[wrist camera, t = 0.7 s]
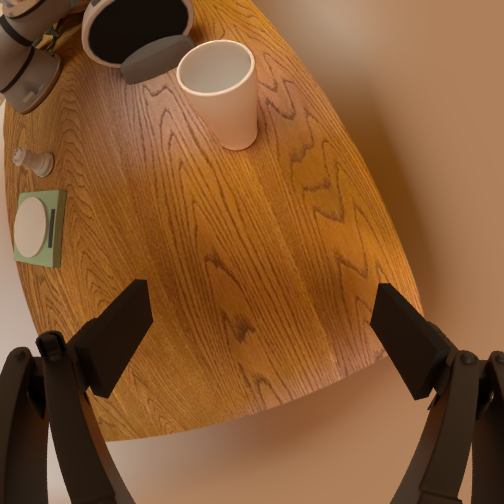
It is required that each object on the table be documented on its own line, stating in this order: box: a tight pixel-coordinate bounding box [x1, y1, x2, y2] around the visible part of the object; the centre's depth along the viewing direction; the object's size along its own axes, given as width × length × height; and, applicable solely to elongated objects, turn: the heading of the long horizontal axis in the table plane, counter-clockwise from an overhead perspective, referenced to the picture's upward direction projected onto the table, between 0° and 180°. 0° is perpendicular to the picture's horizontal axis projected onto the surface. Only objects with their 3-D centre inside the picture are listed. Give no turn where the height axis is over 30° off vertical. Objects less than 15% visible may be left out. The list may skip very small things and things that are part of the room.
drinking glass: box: [176, 40, 258, 151], centre depth 26 cm, size 7×7×15 cm
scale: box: [14, 190, 67, 268], centre depth 35 cm, size 12×12×3 cm
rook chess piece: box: [12, 147, 54, 177], centre depth 32 cm, size 4×4×8 cm
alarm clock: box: [81, 0, 196, 85], centre depth 25 cm, size 16×10×18 cm, turn 111°
